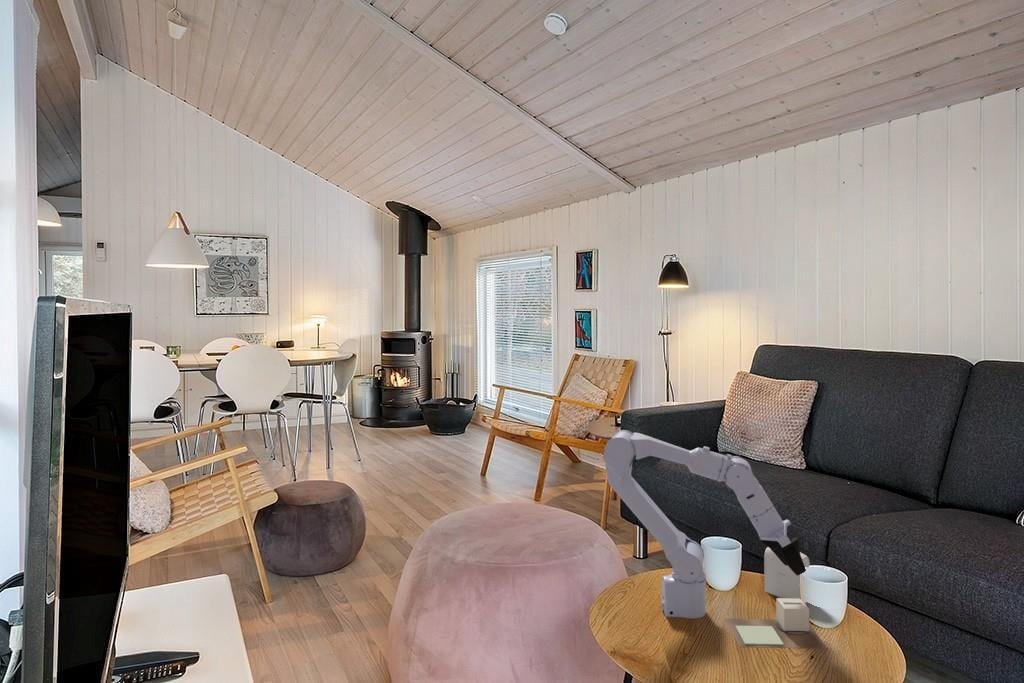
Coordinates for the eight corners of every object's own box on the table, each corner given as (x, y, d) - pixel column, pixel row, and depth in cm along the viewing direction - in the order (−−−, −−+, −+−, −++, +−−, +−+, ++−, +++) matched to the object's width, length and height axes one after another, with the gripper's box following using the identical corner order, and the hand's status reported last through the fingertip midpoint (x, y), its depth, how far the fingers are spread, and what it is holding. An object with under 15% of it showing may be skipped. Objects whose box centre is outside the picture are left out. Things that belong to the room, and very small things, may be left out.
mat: (744, 644, 134) (744, 643, 134) (735, 626, 141) (735, 625, 141) (783, 645, 133) (783, 644, 133) (771, 627, 141) (771, 626, 141)
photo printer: (761, 595, 159) (761, 544, 158) (770, 590, 162) (771, 540, 161) (803, 610, 151) (803, 556, 150) (812, 605, 154) (813, 551, 153)
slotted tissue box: (784, 630, 138) (784, 608, 138) (776, 619, 143) (776, 597, 143) (809, 631, 138) (809, 608, 138) (800, 619, 143) (800, 598, 143)
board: (739, 652, 133) (739, 646, 133) (724, 624, 145) (724, 618, 145) (828, 654, 132) (828, 648, 132) (806, 625, 144) (806, 620, 144)
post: (781, 634, 138) (781, 613, 137) (771, 620, 144) (772, 599, 144) (813, 635, 137) (814, 613, 137) (802, 620, 144) (802, 599, 143)
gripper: (787, 507, 136) (824, 568, 135) (767, 496, 150) (800, 550, 149) (756, 524, 136) (793, 585, 135) (740, 511, 151) (772, 565, 149)
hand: (795, 568), depth 142 cm, fingers open, 7 cm apart
